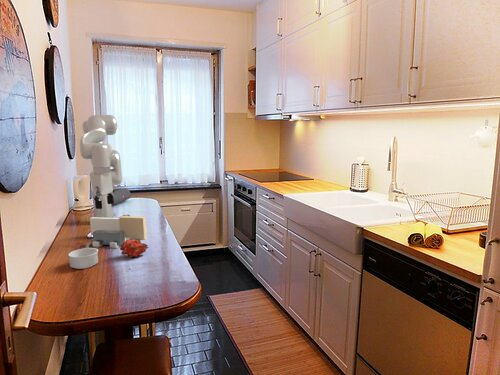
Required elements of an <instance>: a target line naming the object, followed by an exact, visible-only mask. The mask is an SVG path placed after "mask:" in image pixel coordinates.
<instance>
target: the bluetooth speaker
mask: <svg viewBox="0 0 500 375" xmlns="http://www.w3.org/2000/svg"><path fill="white" fill-rule="evenodd" d="M113 197H114V204H111V205H112V206H114V207H115V206H119V205H121V204H124V202H125V201H127V200H129V199H131V197H132V193H131V191H130V190H129V189H127V188H122V189H117V190H114V196H113Z"/></svg>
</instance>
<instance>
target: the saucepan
mask: <svg viewBox="0 0 500 375" xmlns="http://www.w3.org/2000/svg"><path fill="white" fill-rule="evenodd" d="M90 244H91V241H87V242H86V244H85V247H84V248H78V249H75V250H72V251H70V252H68V254H67V256H68V258H69V260H68V261H69V267H70V268H73V269H75V270H76V269H77V270H84V269H89V268H92V267H94V266H95V265H96V264H98V263H99V255H98V254H99V253H98V252H99V249H98V248H97V247H89V246H90ZM93 265H94V266H93Z"/></svg>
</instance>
